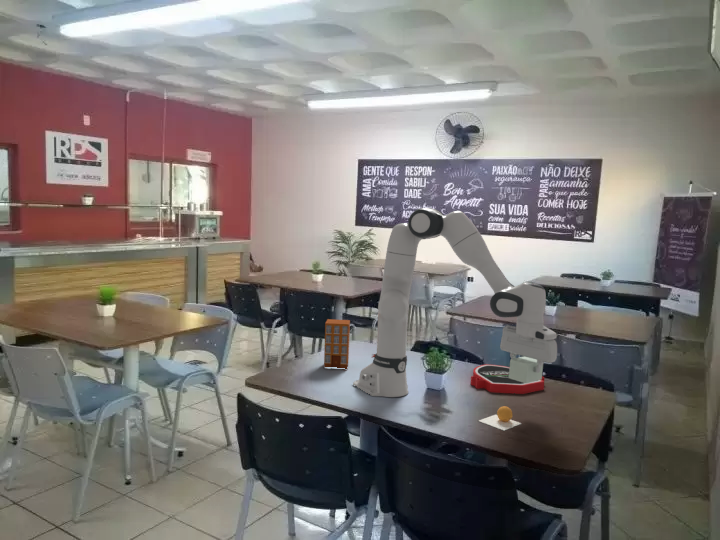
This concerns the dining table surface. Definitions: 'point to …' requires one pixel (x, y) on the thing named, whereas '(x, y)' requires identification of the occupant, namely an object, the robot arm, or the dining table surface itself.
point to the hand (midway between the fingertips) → (525, 369)
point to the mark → (499, 423)
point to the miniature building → (336, 343)
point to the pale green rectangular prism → (524, 370)
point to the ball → (504, 413)
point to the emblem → (502, 380)
